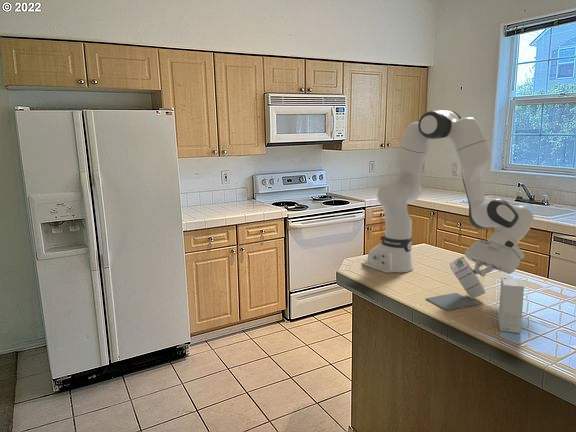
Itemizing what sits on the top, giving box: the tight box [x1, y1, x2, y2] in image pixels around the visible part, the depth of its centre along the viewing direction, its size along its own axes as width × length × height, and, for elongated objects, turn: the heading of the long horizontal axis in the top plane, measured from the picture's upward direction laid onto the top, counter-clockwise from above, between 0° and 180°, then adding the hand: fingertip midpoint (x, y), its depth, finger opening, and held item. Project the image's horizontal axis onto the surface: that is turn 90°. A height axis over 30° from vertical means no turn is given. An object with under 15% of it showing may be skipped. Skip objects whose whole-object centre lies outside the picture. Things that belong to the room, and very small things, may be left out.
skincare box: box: [497, 277, 525, 334], centre depth 134 cm, size 8×6×15 cm
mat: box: [425, 292, 480, 312], centre depth 155 cm, size 11×14×1 cm
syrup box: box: [449, 256, 487, 300], centre depth 156 cm, size 6×6×14 cm
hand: (478, 274), depth 157 cm, fingers closed
